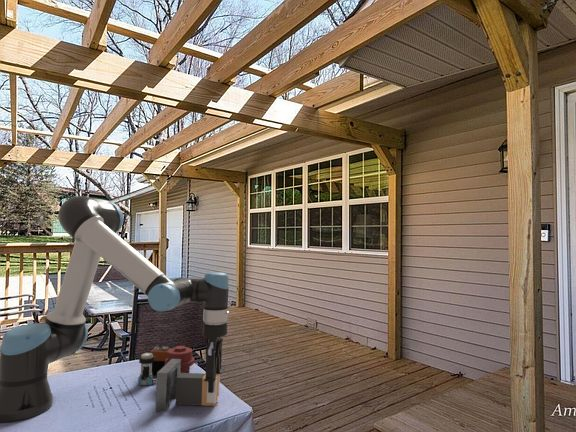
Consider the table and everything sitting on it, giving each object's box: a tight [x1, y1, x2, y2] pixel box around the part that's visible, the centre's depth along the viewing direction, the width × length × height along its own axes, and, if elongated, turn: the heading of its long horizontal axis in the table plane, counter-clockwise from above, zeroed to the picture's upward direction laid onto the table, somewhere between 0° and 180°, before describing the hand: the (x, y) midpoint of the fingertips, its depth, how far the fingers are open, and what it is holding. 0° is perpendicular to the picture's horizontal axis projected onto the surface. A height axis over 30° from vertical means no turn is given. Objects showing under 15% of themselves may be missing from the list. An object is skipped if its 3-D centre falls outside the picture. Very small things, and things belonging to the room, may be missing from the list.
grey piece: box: [154, 359, 181, 413], centre depth 115 cm, size 3×13×11 cm, turn 179°
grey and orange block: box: [175, 372, 219, 407], centre depth 114 cm, size 12×4×8 cm, turn 88°
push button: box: [137, 352, 157, 386], centre depth 128 cm, size 7×5×10 cm
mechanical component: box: [165, 345, 195, 373], centre depth 130 cm, size 12×10×10 cm
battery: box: [149, 346, 172, 377], centre depth 137 cm, size 4×7×10 cm, turn 88°
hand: (212, 398), depth 114 cm, fingers closed on grey and orange block, 4 cm apart
